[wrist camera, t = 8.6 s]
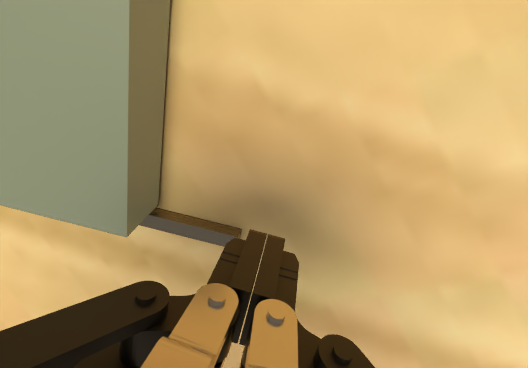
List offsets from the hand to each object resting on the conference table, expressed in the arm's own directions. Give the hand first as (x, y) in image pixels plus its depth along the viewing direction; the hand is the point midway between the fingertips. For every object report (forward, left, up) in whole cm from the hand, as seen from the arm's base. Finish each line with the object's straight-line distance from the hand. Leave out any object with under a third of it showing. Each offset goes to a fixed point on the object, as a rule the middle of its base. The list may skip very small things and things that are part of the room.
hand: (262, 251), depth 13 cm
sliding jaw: (+13, -3, -7) cm, 15 cm away
